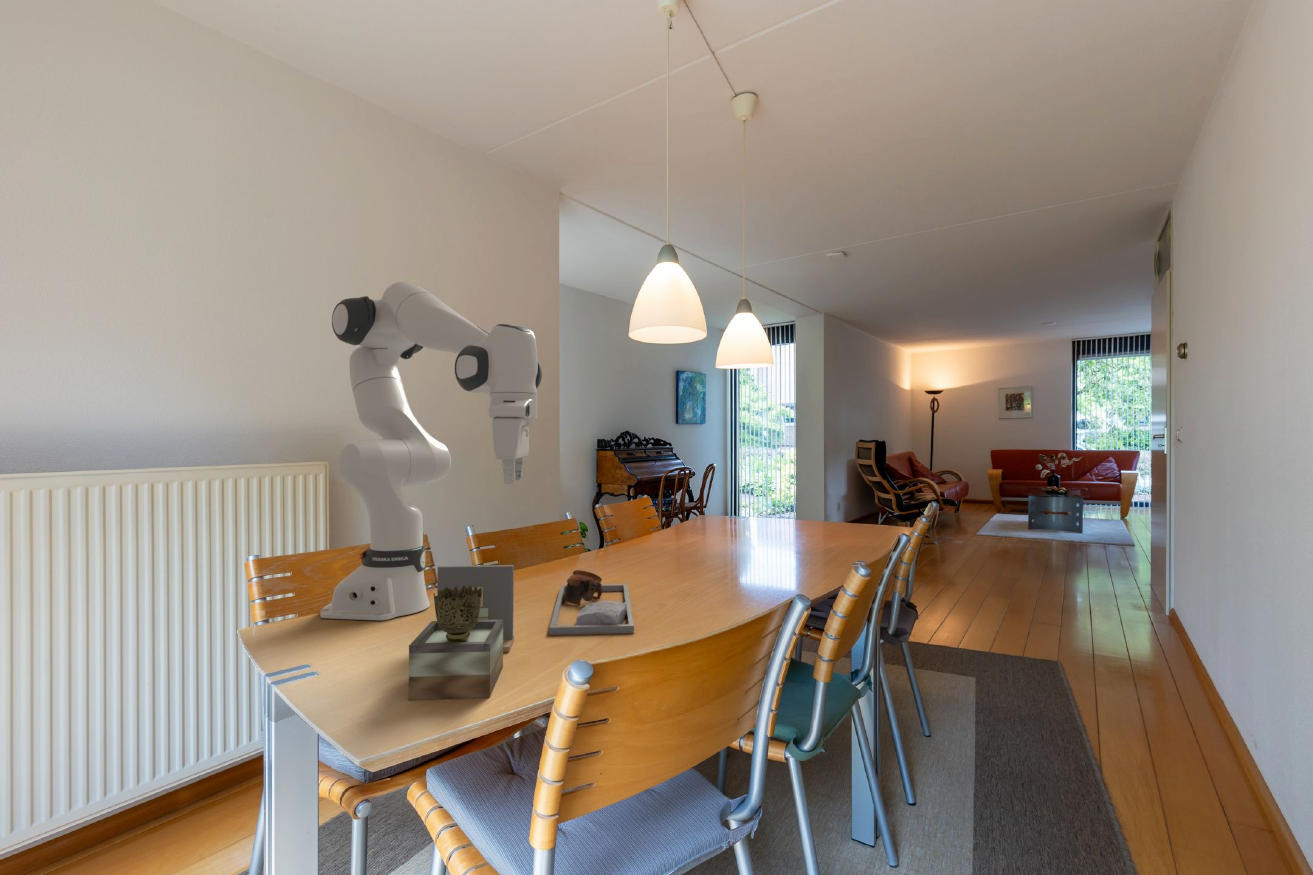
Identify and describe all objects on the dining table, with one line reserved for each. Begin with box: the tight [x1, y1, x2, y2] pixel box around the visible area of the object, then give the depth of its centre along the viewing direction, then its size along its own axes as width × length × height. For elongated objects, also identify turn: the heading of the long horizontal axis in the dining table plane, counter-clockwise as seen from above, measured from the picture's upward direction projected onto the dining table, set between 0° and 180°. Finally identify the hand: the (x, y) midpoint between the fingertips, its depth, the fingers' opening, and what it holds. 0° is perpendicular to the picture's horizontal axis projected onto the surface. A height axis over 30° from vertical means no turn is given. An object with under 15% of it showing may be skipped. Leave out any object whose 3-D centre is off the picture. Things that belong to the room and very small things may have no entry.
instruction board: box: [436, 564, 515, 653], centre depth 112 cm, size 14×6×15 cm, turn 95°
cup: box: [432, 585, 482, 642], centre depth 96 cm, size 8×7×8 cm
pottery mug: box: [562, 569, 603, 606], centre depth 145 cm, size 12×10×8 cm
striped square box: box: [408, 620, 504, 701], centre depth 96 cm, size 12×12×8 cm
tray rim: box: [548, 583, 635, 636], centre depth 137 cm, size 17×34×2 cm, turn 5°
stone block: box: [576, 600, 627, 626], centre depth 128 cm, size 12×5×10 cm
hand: (513, 481), depth 114 cm, fingers open, 8 cm apart
